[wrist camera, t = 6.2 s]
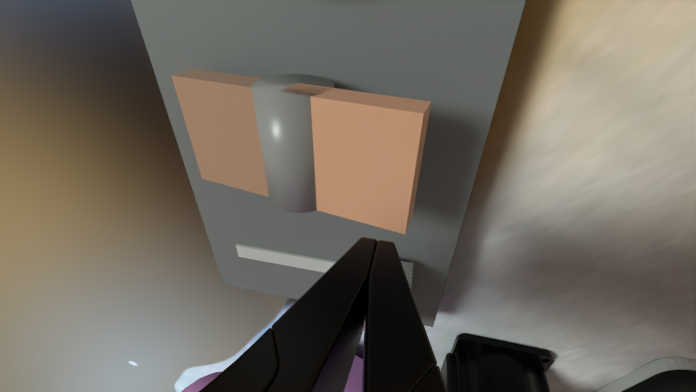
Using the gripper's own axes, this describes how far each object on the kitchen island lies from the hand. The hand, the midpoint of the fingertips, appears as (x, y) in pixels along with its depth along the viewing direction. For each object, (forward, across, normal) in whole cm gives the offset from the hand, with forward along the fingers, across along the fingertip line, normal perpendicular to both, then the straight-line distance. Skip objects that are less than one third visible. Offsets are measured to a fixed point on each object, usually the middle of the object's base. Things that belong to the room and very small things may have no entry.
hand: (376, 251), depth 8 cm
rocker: (+7, +4, 0) cm, 8 cm away
